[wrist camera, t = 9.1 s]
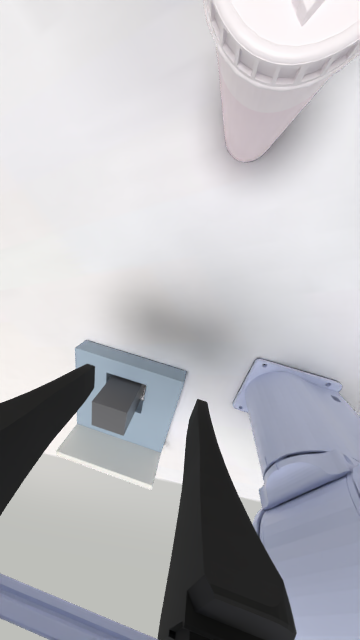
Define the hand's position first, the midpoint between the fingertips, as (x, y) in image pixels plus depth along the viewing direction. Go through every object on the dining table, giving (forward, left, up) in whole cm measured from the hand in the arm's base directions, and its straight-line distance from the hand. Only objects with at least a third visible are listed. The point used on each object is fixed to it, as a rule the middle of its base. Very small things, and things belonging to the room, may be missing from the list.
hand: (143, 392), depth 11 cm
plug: (+4, +10, -10) cm, 14 cm away
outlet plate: (+4, +13, -9) cm, 17 cm away
